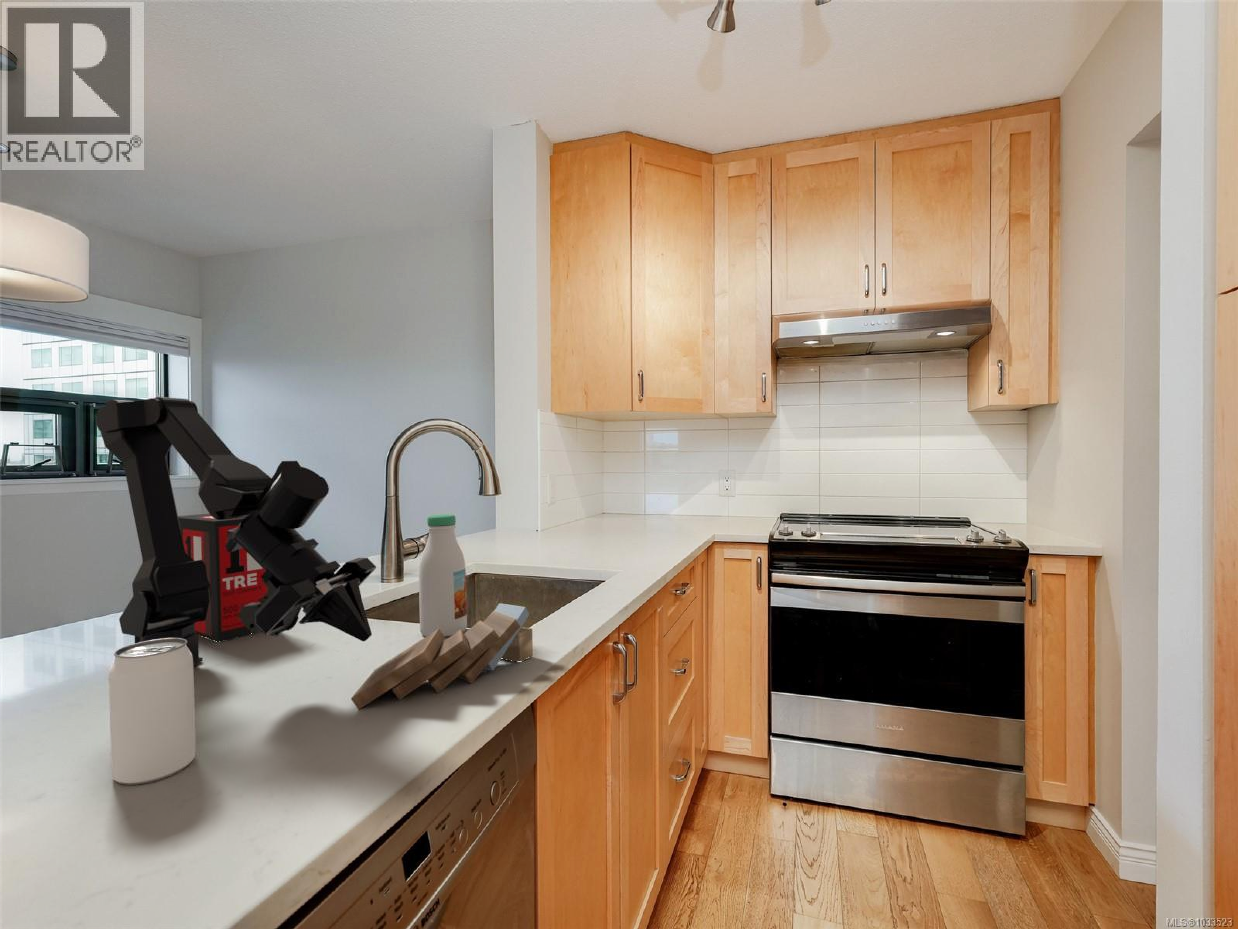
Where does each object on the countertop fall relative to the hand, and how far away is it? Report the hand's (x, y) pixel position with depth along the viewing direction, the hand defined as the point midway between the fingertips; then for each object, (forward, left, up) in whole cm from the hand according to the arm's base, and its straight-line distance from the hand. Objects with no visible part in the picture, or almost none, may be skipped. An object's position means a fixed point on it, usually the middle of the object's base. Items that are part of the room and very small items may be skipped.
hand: (368, 638), depth 75 cm
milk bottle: (+4, +26, -7) cm, 28 cm away
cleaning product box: (-36, +33, -7) cm, 50 cm away
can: (-15, -16, -7) cm, 23 cm away
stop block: (+16, +12, -7) cm, 22 cm away
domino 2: (+3, 0, -6) cm, 7 cm away
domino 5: (+13, +6, -6) cm, 15 cm away
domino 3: (+7, +1, -6) cm, 10 cm away
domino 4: (+10, +4, -6) cm, 13 cm away
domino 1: (0, 0, -7) cm, 7 cm away
